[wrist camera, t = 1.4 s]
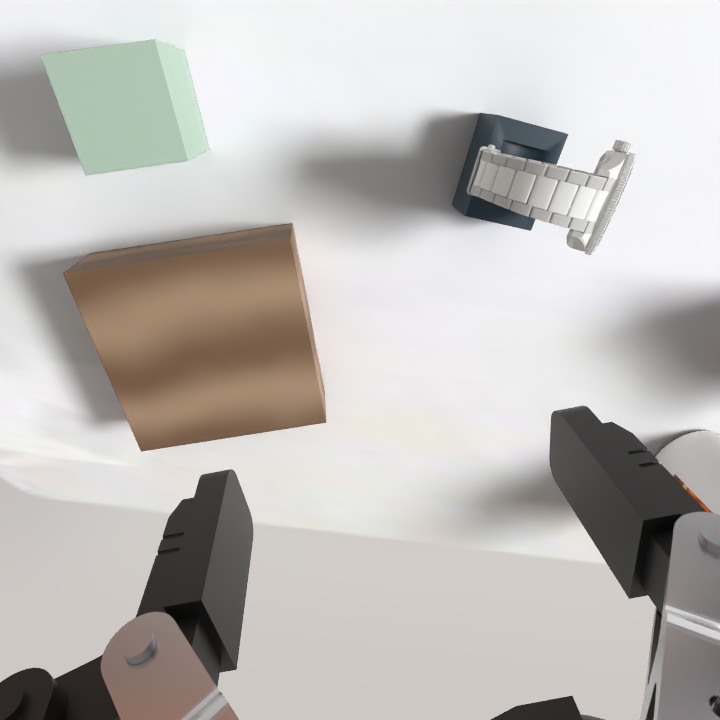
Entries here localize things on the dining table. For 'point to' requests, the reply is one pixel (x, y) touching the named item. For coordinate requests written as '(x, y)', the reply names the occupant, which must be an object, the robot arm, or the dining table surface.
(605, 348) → the dining table surface
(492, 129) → the watch
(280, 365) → the plinth
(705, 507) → the milk bottle
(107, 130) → the block
